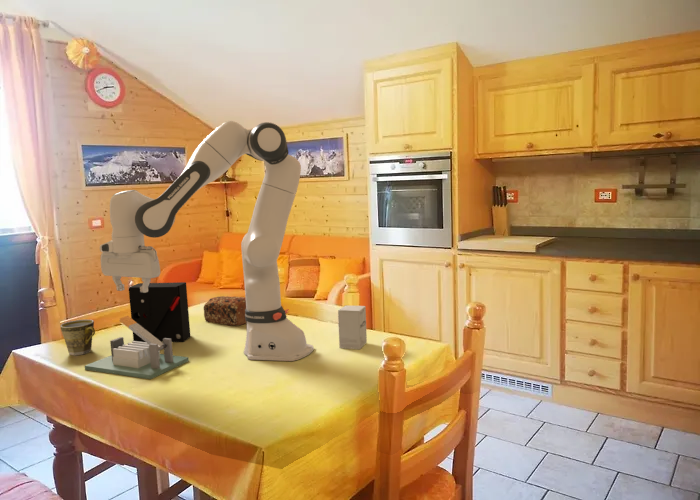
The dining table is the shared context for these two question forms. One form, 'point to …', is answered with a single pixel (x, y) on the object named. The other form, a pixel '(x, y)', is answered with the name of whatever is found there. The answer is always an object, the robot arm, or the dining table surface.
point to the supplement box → (352, 327)
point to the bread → (226, 310)
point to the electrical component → (161, 310)
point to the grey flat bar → (141, 332)
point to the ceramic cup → (78, 336)
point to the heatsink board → (138, 359)
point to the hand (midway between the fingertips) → (132, 291)
